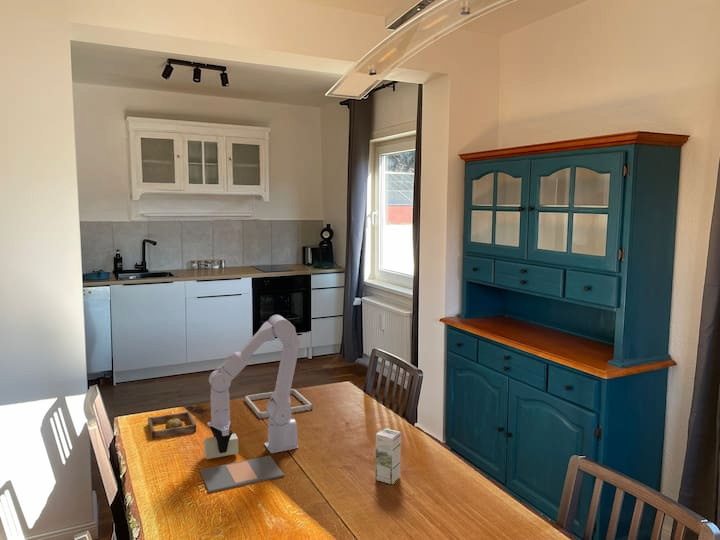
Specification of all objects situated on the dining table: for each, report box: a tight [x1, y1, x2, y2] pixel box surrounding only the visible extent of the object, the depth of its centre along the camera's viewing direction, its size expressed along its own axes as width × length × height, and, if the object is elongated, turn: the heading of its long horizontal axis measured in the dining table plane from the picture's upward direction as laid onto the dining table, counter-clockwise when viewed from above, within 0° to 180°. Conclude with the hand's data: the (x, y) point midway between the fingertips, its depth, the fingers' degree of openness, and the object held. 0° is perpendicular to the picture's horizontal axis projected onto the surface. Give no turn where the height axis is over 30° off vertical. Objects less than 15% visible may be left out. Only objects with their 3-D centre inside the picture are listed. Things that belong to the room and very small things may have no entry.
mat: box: [199, 455, 285, 494], centre depth 164 cm, size 22×14×1 cm, turn 117°
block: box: [203, 433, 239, 460], centre depth 174 cm, size 10×4×5 cm, turn 115°
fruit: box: [165, 418, 184, 429], centre depth 196 cm, size 8×8×4 cm
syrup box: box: [374, 427, 402, 485], centre depth 160 cm, size 6×6×14 cm
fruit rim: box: [147, 411, 197, 440], centre depth 197 cm, size 15×15×2 cm
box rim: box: [244, 388, 314, 419], centre depth 221 cm, size 22×22×2 cm
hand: (221, 449), depth 174 cm, fingers closed on block, 4 cm apart
